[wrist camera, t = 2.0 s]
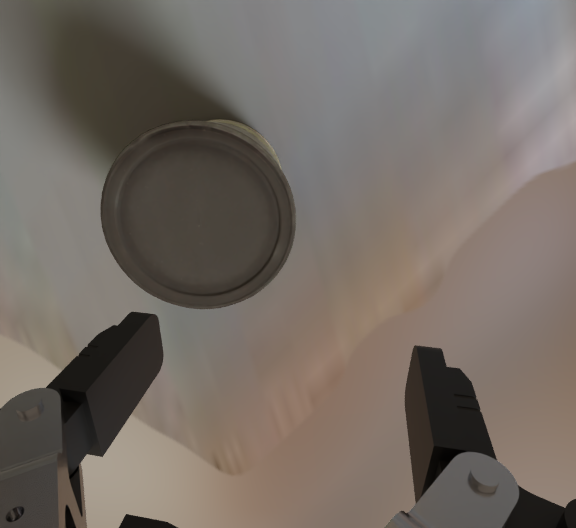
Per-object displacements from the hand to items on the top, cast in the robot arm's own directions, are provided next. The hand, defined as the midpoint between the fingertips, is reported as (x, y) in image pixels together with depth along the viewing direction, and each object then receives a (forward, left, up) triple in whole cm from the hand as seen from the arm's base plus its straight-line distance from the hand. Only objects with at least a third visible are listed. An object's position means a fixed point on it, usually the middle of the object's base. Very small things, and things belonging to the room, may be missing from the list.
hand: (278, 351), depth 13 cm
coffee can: (-4, -2, -25) cm, 25 cm away
